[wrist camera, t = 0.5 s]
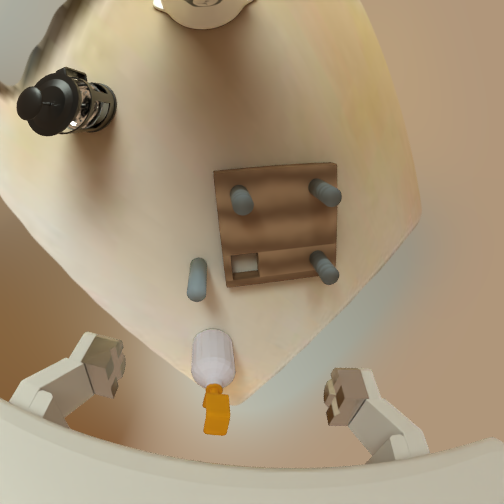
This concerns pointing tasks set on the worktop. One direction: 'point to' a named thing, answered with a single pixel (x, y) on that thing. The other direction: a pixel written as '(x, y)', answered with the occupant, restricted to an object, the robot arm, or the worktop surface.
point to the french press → (65, 104)
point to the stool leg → (197, 280)
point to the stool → (279, 221)
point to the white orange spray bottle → (214, 376)
